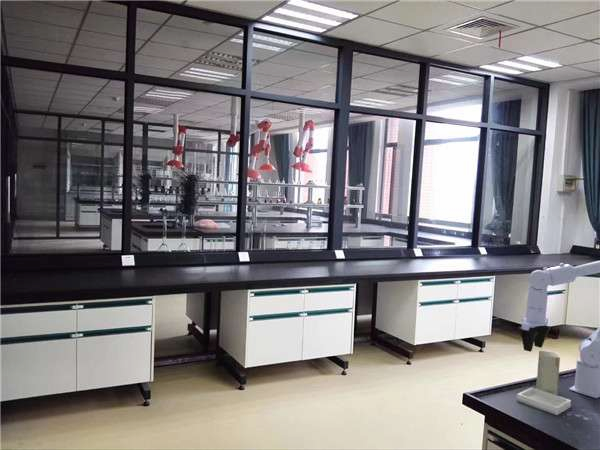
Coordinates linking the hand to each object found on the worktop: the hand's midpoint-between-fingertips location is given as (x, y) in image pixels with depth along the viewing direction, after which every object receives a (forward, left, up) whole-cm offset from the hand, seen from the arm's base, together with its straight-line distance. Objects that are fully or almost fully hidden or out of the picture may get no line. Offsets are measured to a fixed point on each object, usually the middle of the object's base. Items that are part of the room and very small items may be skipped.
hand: (532, 348), depth 160 cm
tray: (+16, +11, -10) cm, 22 cm away
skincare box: (+7, +8, -11) cm, 15 cm away
